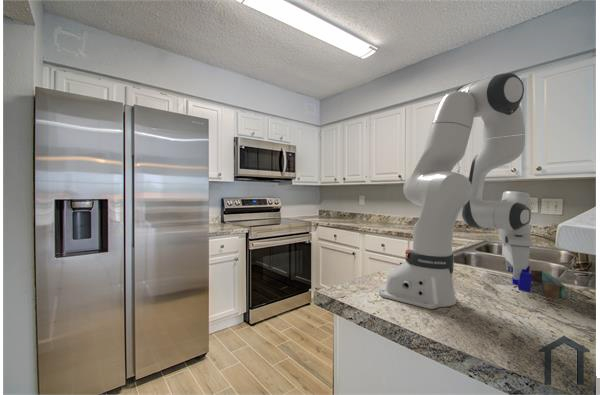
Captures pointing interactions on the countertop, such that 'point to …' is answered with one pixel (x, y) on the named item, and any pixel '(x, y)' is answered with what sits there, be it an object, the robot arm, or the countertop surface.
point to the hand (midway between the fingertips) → (512, 275)
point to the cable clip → (524, 280)
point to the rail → (548, 284)
